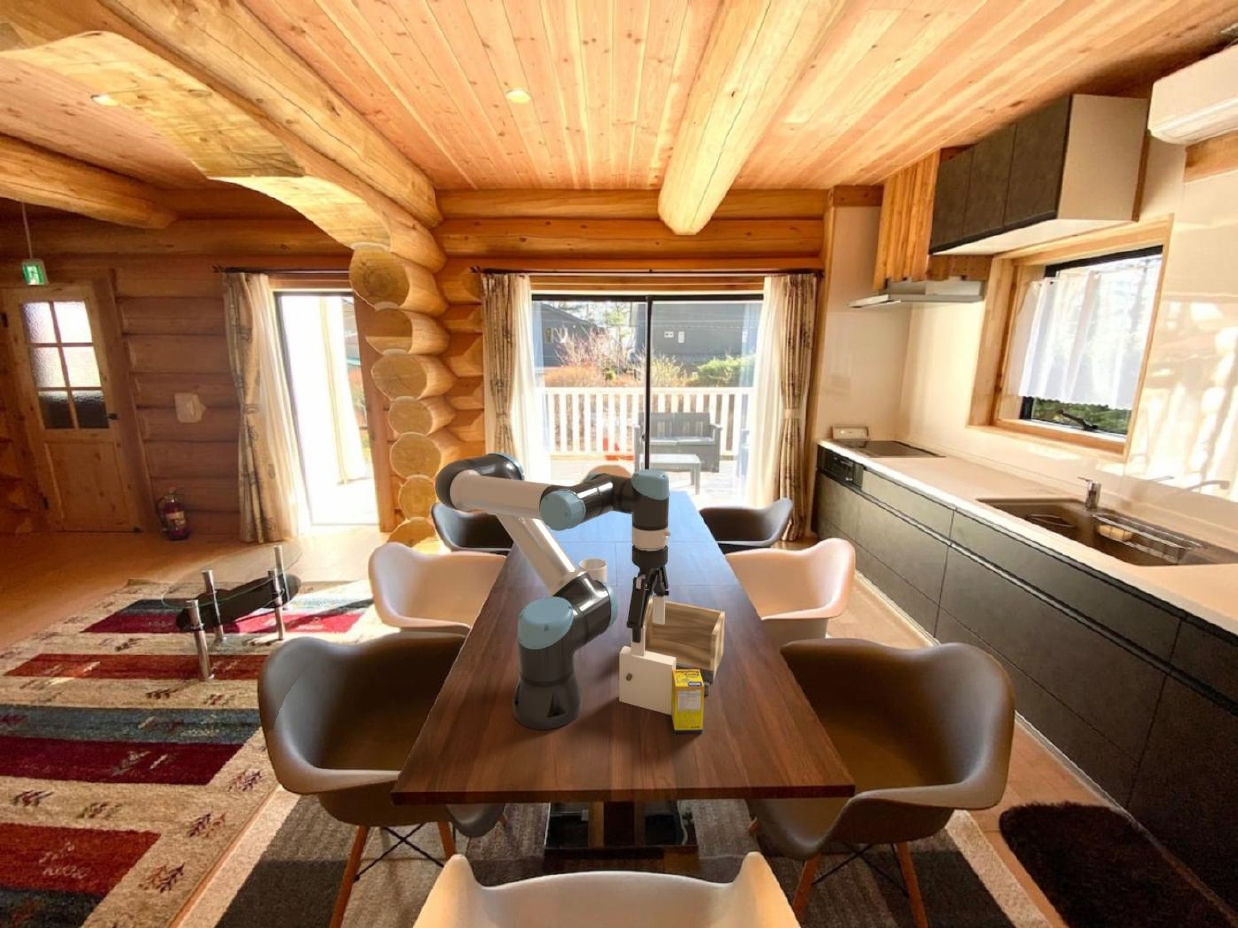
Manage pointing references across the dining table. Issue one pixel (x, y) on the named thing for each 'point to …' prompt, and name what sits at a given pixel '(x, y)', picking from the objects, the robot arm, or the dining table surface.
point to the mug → (595, 568)
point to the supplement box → (687, 701)
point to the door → (646, 680)
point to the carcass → (688, 637)
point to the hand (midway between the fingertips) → (648, 637)
